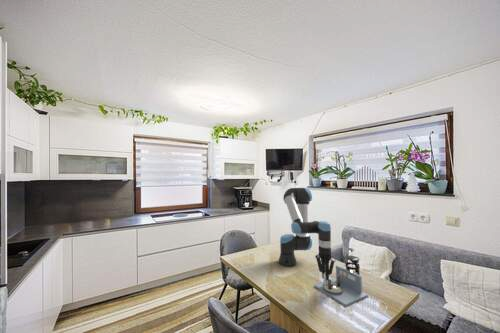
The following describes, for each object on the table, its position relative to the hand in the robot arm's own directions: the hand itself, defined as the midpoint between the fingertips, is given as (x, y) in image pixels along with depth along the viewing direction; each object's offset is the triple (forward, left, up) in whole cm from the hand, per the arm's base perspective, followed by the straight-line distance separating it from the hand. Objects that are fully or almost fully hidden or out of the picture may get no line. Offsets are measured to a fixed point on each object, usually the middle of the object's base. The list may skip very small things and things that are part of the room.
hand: (325, 284), depth 127 cm
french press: (0, +27, -5) cm, 27 cm away
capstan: (+1, +5, -4) cm, 6 cm away
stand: (+3, +9, -5) cm, 11 cm away
